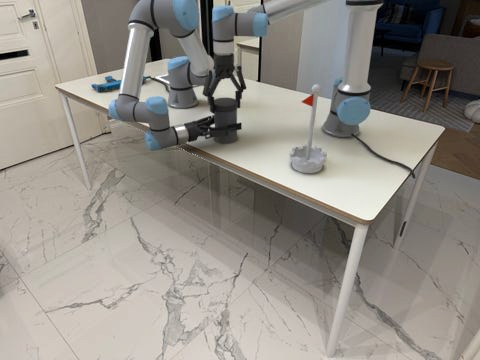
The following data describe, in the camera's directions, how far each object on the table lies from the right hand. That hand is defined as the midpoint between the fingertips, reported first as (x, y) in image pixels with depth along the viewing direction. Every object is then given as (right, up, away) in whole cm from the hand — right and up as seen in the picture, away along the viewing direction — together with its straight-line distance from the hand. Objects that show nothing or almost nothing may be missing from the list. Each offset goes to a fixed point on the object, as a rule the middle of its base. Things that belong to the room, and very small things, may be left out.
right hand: (225, 109), depth 137 cm
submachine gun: (-67, +31, +70) cm, 102 cm away
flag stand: (+30, -23, -12) cm, 40 cm away
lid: (0, +2, -2) cm, 3 cm away
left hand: (+4, -4, +5) cm, 8 cm away
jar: (0, -11, +7) cm, 13 cm away
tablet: (-31, +34, +75) cm, 88 cm away
